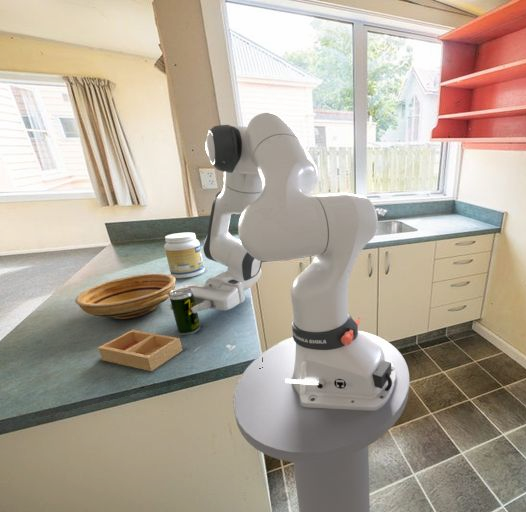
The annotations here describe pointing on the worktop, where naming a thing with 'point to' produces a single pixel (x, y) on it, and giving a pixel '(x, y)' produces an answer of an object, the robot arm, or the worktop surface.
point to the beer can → (184, 311)
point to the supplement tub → (184, 255)
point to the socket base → (140, 349)
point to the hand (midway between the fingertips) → (181, 309)
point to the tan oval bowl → (127, 296)
